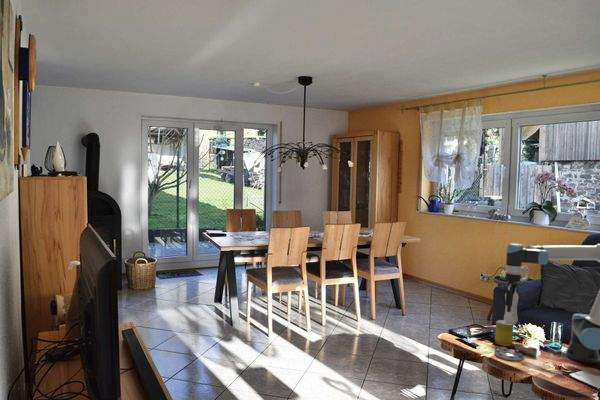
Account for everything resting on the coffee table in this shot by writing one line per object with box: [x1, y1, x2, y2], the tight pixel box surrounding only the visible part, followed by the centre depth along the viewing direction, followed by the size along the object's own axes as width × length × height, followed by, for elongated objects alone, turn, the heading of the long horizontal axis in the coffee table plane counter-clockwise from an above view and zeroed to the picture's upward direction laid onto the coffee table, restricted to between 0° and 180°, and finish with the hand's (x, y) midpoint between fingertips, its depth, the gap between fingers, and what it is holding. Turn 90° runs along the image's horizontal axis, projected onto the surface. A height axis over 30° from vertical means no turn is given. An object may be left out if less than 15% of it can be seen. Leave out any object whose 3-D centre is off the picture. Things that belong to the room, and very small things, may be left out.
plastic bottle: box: [503, 289, 519, 325], centre depth 247 cm, size 6×7×20 cm
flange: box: [493, 347, 524, 362], centre depth 249 cm, size 14×14×2 cm
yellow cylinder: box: [494, 319, 514, 347], centre depth 268 cm, size 9×9×12 cm
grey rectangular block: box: [514, 343, 538, 358], centre depth 252 cm, size 10×4×4 cm, turn 50°
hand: (510, 316), depth 248 cm, fingers closed on plastic bottle, 6 cm apart
